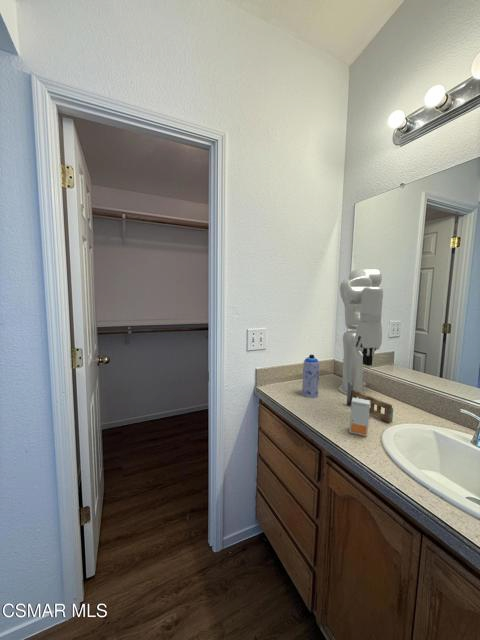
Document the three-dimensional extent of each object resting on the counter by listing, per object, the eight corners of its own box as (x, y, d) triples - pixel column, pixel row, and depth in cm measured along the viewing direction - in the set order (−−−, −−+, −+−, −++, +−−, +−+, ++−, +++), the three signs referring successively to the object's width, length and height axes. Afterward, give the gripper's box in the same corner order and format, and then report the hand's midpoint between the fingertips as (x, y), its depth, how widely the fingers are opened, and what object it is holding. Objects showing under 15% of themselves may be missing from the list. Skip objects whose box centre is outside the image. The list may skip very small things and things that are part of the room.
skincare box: (349, 432, 99) (350, 400, 98) (350, 427, 103) (352, 396, 102) (367, 437, 96) (369, 404, 95) (368, 431, 100) (370, 400, 99)
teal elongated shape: (349, 403, 126) (350, 382, 125) (393, 420, 109) (395, 396, 108) (345, 404, 124) (346, 383, 123) (389, 422, 107) (391, 397, 106)
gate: (351, 405, 122) (352, 390, 122) (353, 404, 123) (354, 389, 122) (388, 422, 106) (390, 405, 106) (390, 421, 107) (392, 404, 106)
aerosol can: (318, 398, 131) (320, 357, 129) (302, 396, 133) (303, 356, 131) (317, 392, 139) (319, 353, 137) (301, 391, 140) (303, 352, 138)
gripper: (375, 317, 113) (372, 360, 115) (348, 318, 107) (345, 364, 109) (392, 319, 106) (388, 365, 108) (364, 320, 100) (360, 369, 102)
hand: (367, 364), depth 109 cm, fingers closed
